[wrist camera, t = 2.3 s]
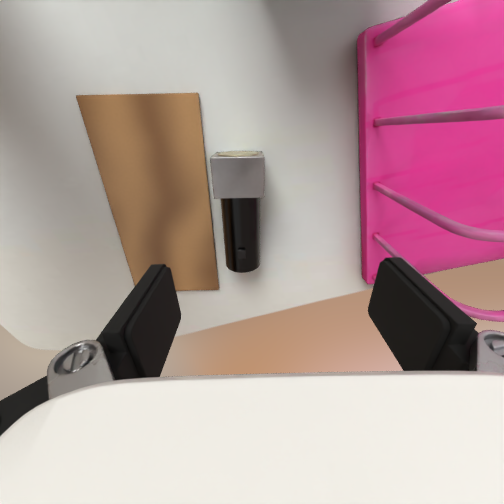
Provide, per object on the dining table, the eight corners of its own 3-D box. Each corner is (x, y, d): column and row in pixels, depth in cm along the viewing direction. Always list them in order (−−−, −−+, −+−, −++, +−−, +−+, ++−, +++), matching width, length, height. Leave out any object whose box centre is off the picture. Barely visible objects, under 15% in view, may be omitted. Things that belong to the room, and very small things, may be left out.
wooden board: (137, 289, 32) (136, 291, 32) (78, 95, 22) (75, 95, 21) (219, 288, 32) (218, 289, 32) (198, 93, 22) (197, 92, 21)
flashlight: (261, 259, 30) (263, 280, 26) (225, 259, 30) (221, 280, 26) (261, 150, 24) (264, 155, 20) (216, 151, 24) (209, 156, 20)
